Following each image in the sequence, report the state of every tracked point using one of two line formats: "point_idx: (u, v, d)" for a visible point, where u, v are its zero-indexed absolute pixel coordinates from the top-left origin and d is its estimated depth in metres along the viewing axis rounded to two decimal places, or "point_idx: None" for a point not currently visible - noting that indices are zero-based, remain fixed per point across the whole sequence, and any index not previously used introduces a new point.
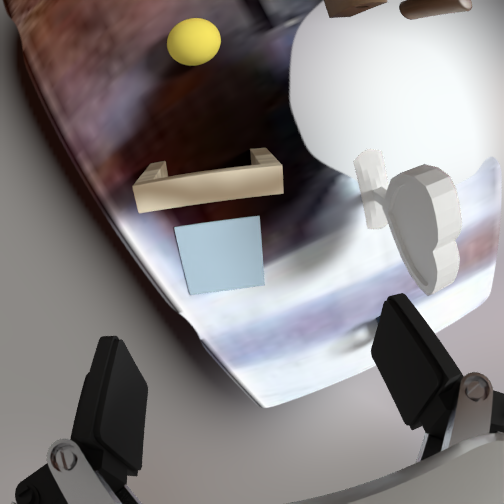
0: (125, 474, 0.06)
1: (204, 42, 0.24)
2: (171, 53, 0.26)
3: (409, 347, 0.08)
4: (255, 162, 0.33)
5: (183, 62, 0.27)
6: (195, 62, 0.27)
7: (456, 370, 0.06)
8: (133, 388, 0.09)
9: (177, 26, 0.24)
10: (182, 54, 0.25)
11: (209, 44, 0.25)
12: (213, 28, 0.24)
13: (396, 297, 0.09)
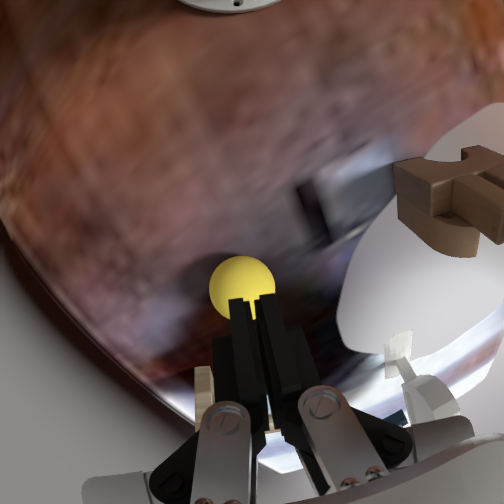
0: None
1: None
2: (217, 310, 0.27)
3: (263, 348, 0.09)
4: None
5: None
6: None
7: (296, 379, 0.07)
8: None
9: (224, 287, 0.24)
10: None
11: None
12: (269, 288, 0.25)
13: (263, 296, 0.10)
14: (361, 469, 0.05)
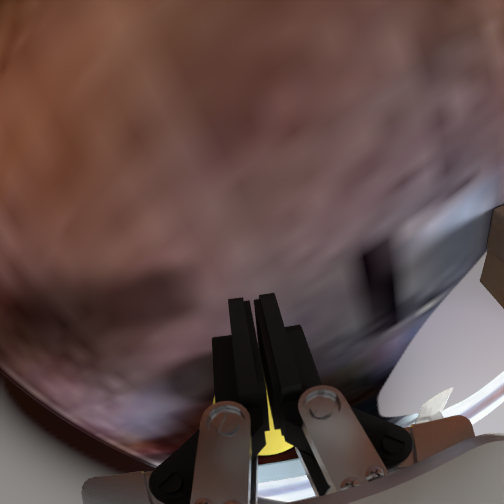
0: None
1: (292, 446, 0.14)
2: None
3: (263, 348, 0.09)
4: None
5: None
6: None
7: (296, 379, 0.07)
8: None
9: None
10: None
11: None
12: None
13: (263, 296, 0.10)
14: (361, 469, 0.05)
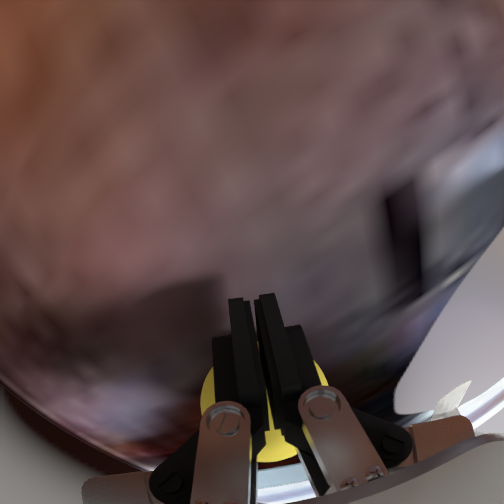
0: None
1: None
2: None
3: (263, 348, 0.09)
4: None
5: None
6: None
7: (296, 380, 0.07)
8: None
9: None
10: None
11: None
12: None
13: (263, 296, 0.10)
14: (361, 469, 0.05)
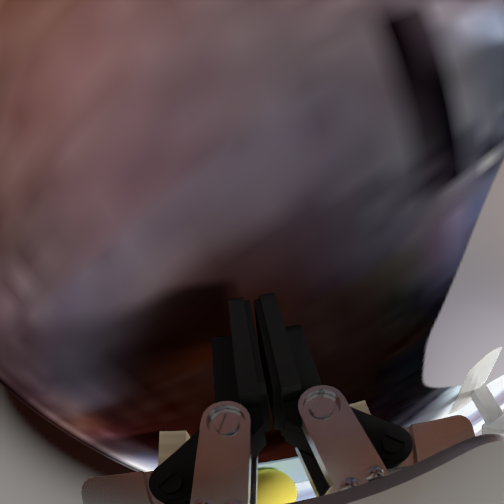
0: None
1: None
2: None
3: (263, 348, 0.09)
4: None
5: None
6: (262, 469, 0.23)
7: (296, 379, 0.07)
8: None
9: None
10: None
11: None
12: None
13: (263, 296, 0.10)
14: (361, 469, 0.05)
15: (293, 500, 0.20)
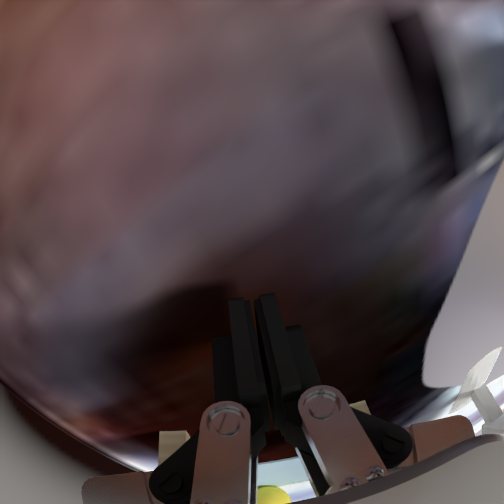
0: None
1: None
2: None
3: (263, 348, 0.09)
4: None
5: None
6: None
7: (296, 379, 0.07)
8: None
9: None
10: None
11: None
12: (285, 502, 0.25)
13: (263, 296, 0.10)
14: (361, 469, 0.05)
15: None
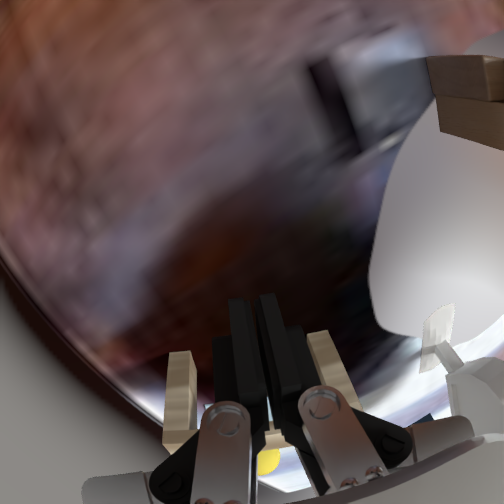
0: None
1: (269, 464, 0.31)
2: None
3: (263, 348, 0.09)
4: (320, 374, 0.23)
5: None
6: None
7: (296, 380, 0.07)
8: None
9: None
10: None
11: (273, 464, 0.32)
12: (274, 450, 0.33)
13: (263, 296, 0.10)
14: (361, 469, 0.05)
15: None
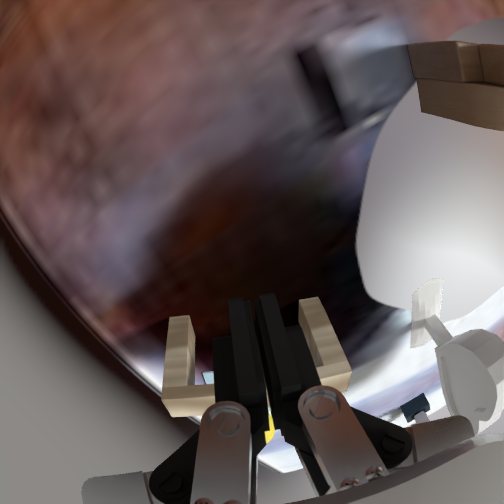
0: None
1: None
2: None
3: (263, 348, 0.09)
4: (310, 336, 0.26)
5: None
6: None
7: (296, 379, 0.07)
8: None
9: None
10: None
11: (268, 435, 0.35)
12: (269, 421, 0.36)
13: (263, 296, 0.10)
14: (361, 469, 0.05)
15: None
